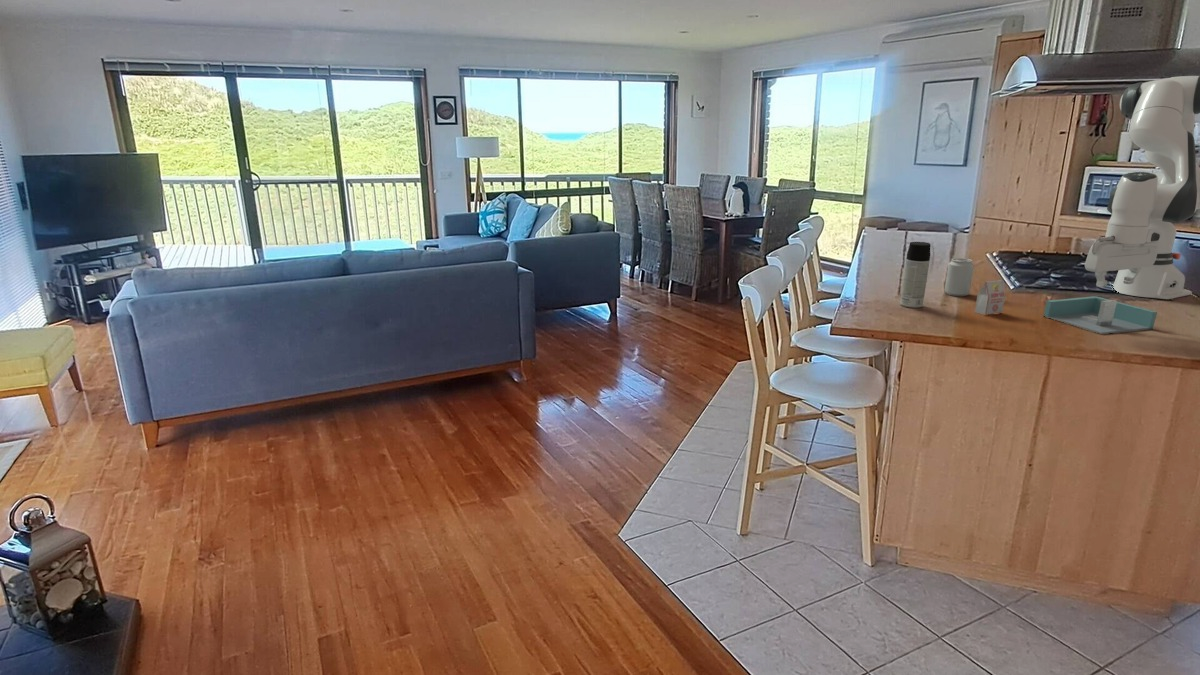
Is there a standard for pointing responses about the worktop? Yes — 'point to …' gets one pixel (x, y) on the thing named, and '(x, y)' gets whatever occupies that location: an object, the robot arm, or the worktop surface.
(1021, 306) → the worktop surface
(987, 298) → the milk carton
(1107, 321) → the bracket
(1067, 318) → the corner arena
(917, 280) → the spray can
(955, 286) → the can
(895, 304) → the worktop surface
